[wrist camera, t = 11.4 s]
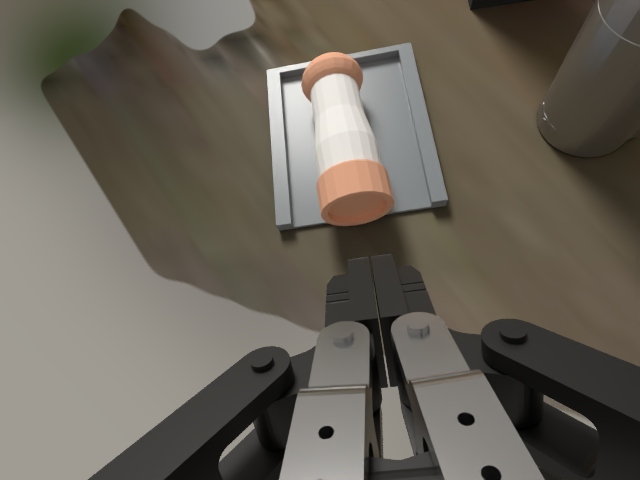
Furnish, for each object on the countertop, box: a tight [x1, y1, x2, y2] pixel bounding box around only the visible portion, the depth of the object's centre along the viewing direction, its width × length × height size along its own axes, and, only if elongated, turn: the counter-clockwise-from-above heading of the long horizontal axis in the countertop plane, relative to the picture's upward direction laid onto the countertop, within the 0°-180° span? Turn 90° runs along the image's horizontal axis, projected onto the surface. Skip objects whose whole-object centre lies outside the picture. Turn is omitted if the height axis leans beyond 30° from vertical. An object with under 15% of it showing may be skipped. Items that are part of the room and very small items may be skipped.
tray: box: [267, 42, 448, 231], centre depth 47 cm, size 18×22×2 cm
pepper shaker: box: [301, 52, 394, 226], centre depth 44 cm, size 7×7×19 cm
